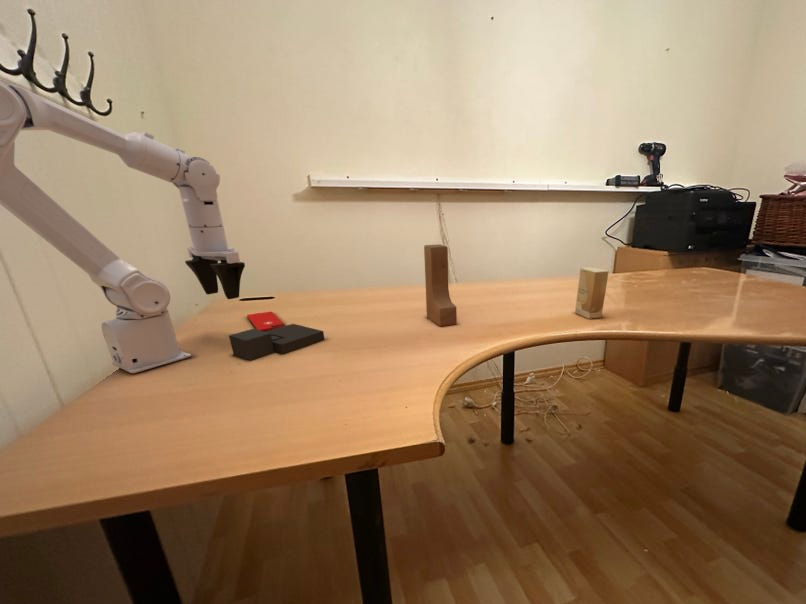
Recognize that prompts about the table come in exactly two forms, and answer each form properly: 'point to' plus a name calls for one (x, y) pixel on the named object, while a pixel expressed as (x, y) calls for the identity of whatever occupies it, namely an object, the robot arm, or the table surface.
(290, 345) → the base pad
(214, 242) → the robot arm
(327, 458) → the table surface
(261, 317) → the electronic device
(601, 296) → the cosmetic box
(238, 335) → the pad
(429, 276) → the wooden block
